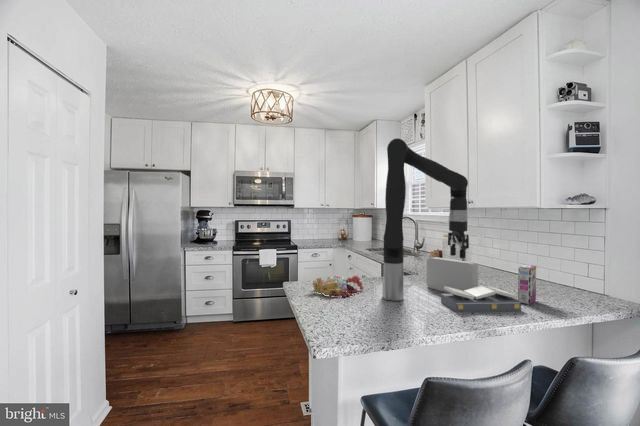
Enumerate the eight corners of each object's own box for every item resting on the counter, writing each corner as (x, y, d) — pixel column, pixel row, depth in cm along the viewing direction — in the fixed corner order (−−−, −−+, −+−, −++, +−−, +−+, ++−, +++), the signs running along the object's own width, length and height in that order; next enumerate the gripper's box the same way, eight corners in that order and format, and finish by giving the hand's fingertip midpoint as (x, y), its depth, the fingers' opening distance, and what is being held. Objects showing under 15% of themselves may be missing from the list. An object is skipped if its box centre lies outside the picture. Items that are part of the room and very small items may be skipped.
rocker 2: (476, 299, 134) (476, 296, 134) (464, 293, 145) (463, 290, 145) (495, 294, 134) (494, 291, 134) (481, 288, 145) (481, 285, 145)
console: (455, 311, 132) (455, 299, 132) (440, 302, 146) (440, 291, 146) (521, 311, 133) (521, 298, 133) (500, 301, 147) (500, 290, 147)
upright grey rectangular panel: (480, 296, 156) (480, 262, 156) (472, 298, 153) (472, 263, 153) (434, 286, 179) (434, 256, 179) (426, 287, 175) (426, 257, 175)
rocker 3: (498, 293, 135) (499, 291, 135) (484, 288, 145) (485, 285, 145) (517, 298, 135) (517, 296, 135) (501, 292, 145) (502, 290, 145)
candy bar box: (530, 305, 141) (530, 268, 141) (517, 303, 145) (517, 267, 145) (536, 300, 149) (536, 265, 149) (524, 298, 152) (524, 264, 152)
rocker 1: (454, 294, 134) (455, 291, 134) (443, 288, 144) (444, 286, 144) (473, 299, 134) (474, 296, 134) (461, 293, 145) (462, 290, 145)
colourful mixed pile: (346, 302, 148) (346, 282, 148) (304, 295, 161) (304, 277, 161) (367, 291, 170) (367, 273, 170) (329, 285, 182) (329, 269, 182)
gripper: (442, 219, 149) (442, 254, 149) (457, 220, 135) (457, 259, 135) (458, 220, 150) (457, 254, 150) (475, 221, 135) (474, 259, 136)
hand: (457, 256), depth 142 cm, fingers open, 8 cm apart
